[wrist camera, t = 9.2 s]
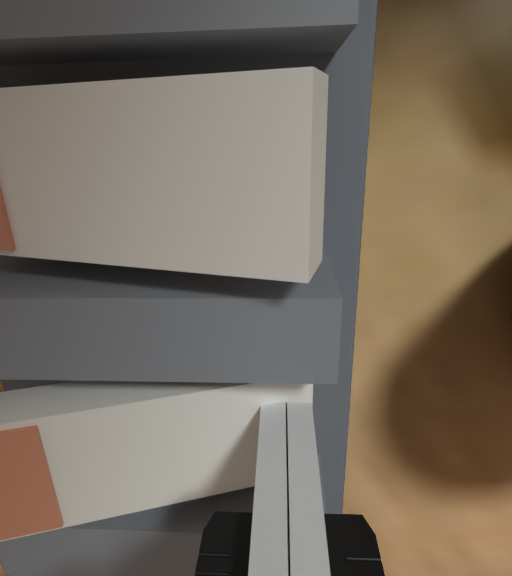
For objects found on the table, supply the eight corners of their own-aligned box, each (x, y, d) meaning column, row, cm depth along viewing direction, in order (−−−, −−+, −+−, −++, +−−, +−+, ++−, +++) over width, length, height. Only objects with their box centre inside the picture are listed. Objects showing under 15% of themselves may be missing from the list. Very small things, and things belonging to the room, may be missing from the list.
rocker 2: (-34, 396, 12) (-61, 438, 10) (296, 348, 14) (315, 375, 13) (1, 500, 13) (-19, 550, 12) (295, 441, 16) (311, 477, 14)
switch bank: (-11, -12, 15) (-322, -155, 7) (352, -31, 14) (435, -215, 7) (107, 531, 26) (29, 714, 18) (324, 540, 25) (343, 735, 17)
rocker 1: (-30, 97, 12) (-97, 93, 10) (328, 74, 9) (311, 65, 7) (5, 236, 13) (-48, 252, 12) (322, 260, 10) (306, 286, 8)
